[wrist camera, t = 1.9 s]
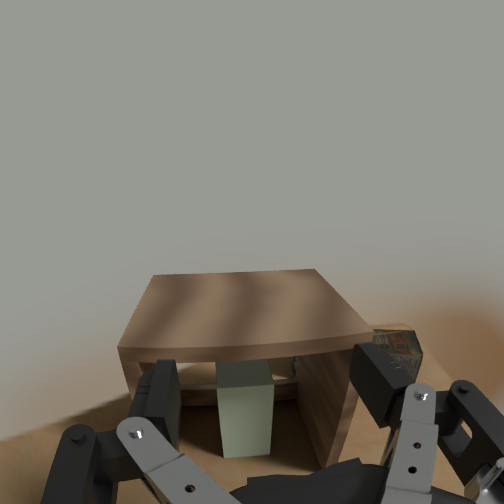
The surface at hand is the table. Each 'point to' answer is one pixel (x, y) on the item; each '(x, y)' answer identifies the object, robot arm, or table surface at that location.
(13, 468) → the table surface
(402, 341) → the beverage carton
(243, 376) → the sage block
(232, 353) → the walnut box
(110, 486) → the robot arm
